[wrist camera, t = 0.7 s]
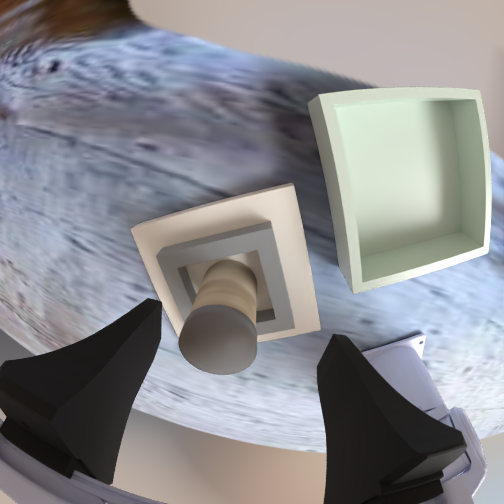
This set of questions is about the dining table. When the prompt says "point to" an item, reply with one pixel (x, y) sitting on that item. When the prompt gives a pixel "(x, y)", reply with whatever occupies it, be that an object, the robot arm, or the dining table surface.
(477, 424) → the dining table surface
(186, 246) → the square socket plate
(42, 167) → the dining table surface
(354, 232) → the bin
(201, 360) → the strut
